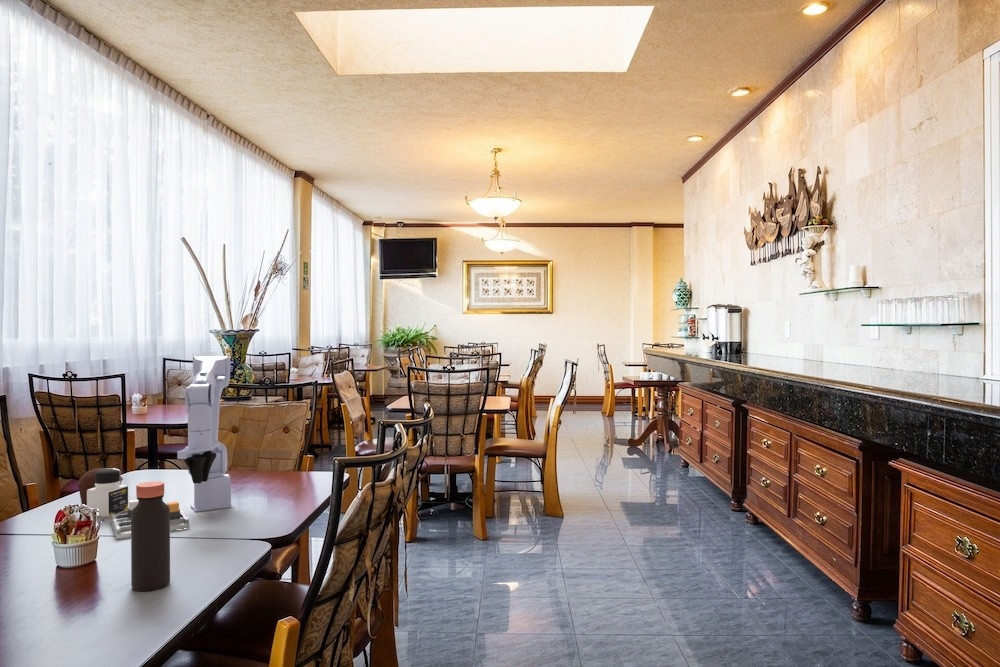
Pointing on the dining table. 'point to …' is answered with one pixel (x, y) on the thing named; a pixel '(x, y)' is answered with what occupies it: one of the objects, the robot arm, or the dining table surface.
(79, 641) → the dining table surface
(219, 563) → the dining table surface
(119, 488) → the medicine bottle
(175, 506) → the orange fader
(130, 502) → the white fader
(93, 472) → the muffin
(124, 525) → the gray compartment tray
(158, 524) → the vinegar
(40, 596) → the dining table surface
